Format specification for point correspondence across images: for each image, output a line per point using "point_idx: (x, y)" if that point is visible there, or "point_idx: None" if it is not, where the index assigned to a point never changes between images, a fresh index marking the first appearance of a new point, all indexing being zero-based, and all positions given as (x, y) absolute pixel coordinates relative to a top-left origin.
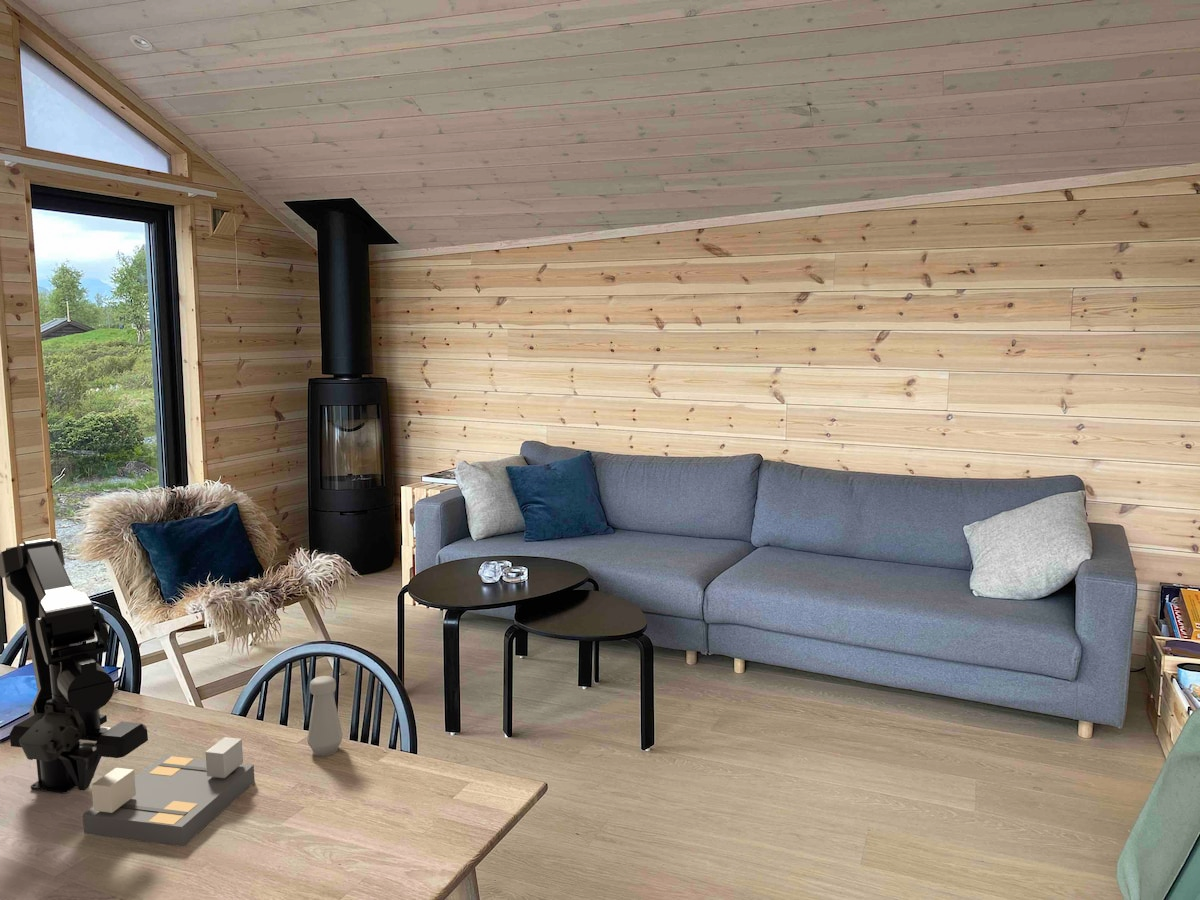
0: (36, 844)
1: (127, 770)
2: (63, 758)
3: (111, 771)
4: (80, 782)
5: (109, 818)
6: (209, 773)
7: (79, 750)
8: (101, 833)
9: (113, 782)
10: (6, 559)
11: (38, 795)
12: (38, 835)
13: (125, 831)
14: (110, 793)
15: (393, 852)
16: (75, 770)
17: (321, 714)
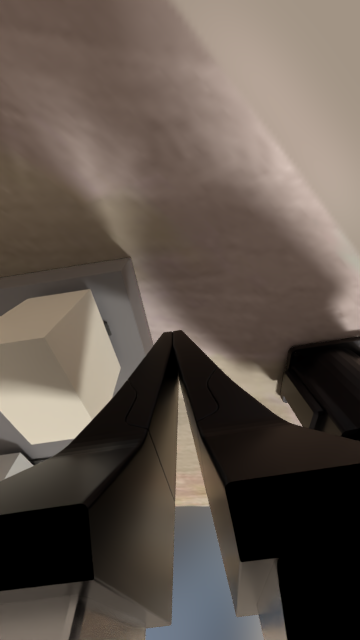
0: (201, 172)
1: (45, 436)
2: (246, 434)
3: (86, 418)
4: (165, 346)
5: (31, 283)
6: (9, 460)
7: (69, 595)
8: (82, 266)
9: None
10: None
11: (338, 328)
12: (230, 211)
13: (7, 280)
14: None
15: None
16: (182, 380)
17: None
